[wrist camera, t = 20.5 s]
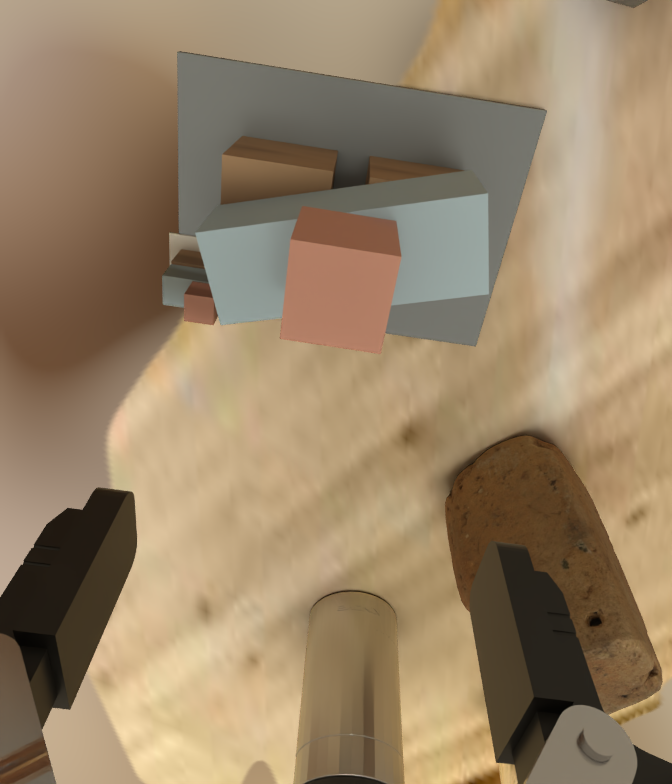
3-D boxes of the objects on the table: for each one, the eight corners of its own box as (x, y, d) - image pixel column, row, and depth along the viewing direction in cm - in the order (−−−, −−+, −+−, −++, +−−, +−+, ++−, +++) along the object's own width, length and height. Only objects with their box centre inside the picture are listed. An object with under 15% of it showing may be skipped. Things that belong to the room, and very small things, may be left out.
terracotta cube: (378, 307, 30) (380, 354, 26) (292, 293, 30) (279, 338, 26) (396, 221, 28) (401, 256, 23) (302, 205, 27) (290, 239, 23)
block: (546, 416, 47) (646, 636, 30) (583, 476, 50) (692, 706, 33) (429, 472, 51) (460, 696, 34) (470, 524, 54) (516, 754, 37)
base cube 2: (325, 243, 40) (319, 276, 35) (237, 230, 39) (218, 261, 34) (338, 150, 36) (333, 171, 31) (242, 135, 36) (221, 154, 31)
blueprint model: (270, 306, 42) (255, 349, 37) (171, 292, 42) (141, 333, 36) (275, 247, 40) (260, 284, 34) (170, 232, 40) (137, 266, 34)
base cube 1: (441, 261, 40) (452, 296, 35) (354, 248, 40) (353, 281, 35) (463, 170, 37) (479, 194, 32) (369, 155, 36) (370, 177, 31)
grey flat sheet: (474, 342, 44) (475, 346, 43) (181, 300, 43) (179, 303, 43) (544, 109, 35) (547, 111, 35) (180, 51, 34) (177, 51, 34)
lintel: (473, 260, 34) (488, 294, 29) (238, 288, 35) (220, 325, 31) (471, 169, 31) (488, 193, 27) (217, 205, 33) (195, 232, 28)
